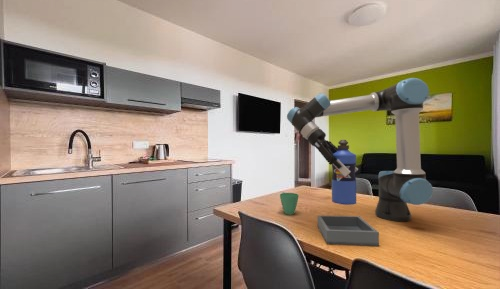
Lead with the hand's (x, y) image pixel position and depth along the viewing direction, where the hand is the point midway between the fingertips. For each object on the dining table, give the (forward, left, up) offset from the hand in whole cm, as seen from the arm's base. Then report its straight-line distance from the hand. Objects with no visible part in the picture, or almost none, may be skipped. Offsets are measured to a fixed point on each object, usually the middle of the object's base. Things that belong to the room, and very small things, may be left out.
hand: (351, 172), depth 87 cm
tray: (+2, -2, -25) cm, 25 cm away
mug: (+23, -32, -26) cm, 47 cm away
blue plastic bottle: (+3, -2, -12) cm, 12 cm away
